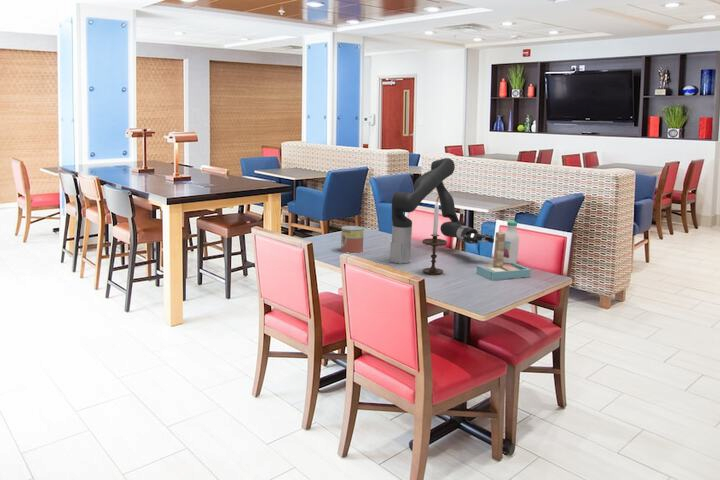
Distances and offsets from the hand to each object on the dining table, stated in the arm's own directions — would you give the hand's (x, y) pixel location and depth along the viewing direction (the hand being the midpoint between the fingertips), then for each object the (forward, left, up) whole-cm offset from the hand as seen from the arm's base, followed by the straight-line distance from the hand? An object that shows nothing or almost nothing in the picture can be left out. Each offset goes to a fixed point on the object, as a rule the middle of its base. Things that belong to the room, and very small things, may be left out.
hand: (485, 241), depth 299 cm
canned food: (-20, +63, -13) cm, 68 cm away
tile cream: (-10, -12, -13) cm, 20 cm away
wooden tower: (-5, -10, -12) cm, 17 cm away
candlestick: (-26, +11, -12) cm, 31 cm away
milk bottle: (+18, -5, -13) cm, 22 cm away
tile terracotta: (-4, -16, -13) cm, 20 cm away
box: (-7, -14, -12) cm, 20 cm away
